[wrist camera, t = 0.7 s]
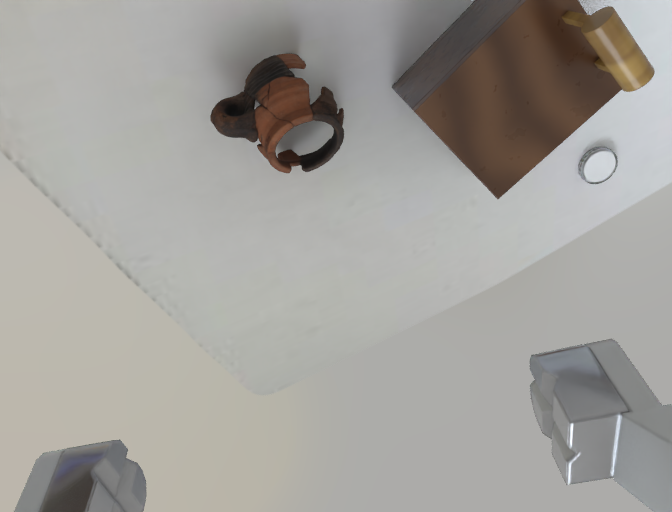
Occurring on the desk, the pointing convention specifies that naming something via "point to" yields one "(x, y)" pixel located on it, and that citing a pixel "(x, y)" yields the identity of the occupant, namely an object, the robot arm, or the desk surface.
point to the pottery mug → (279, 112)
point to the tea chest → (451, 48)
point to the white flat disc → (598, 165)
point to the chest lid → (531, 87)
